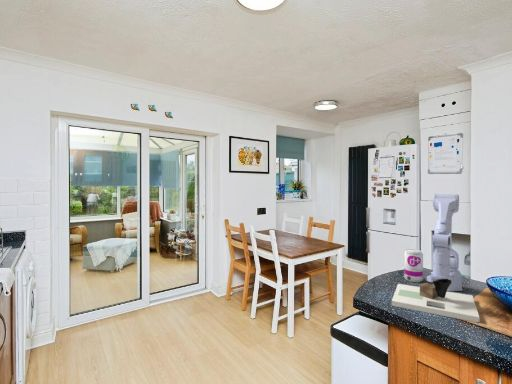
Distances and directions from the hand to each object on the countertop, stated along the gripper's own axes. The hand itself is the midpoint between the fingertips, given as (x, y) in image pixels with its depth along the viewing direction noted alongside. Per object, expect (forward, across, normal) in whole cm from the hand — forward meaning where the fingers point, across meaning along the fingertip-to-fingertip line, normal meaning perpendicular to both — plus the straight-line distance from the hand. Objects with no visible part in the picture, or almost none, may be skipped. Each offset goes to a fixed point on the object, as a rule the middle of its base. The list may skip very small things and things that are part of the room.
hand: (441, 297), depth 116 cm
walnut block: (+1, +1, -4) cm, 5 cm away
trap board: (+3, +1, -2) cm, 4 cm away
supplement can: (+3, -16, -25) cm, 30 cm away
